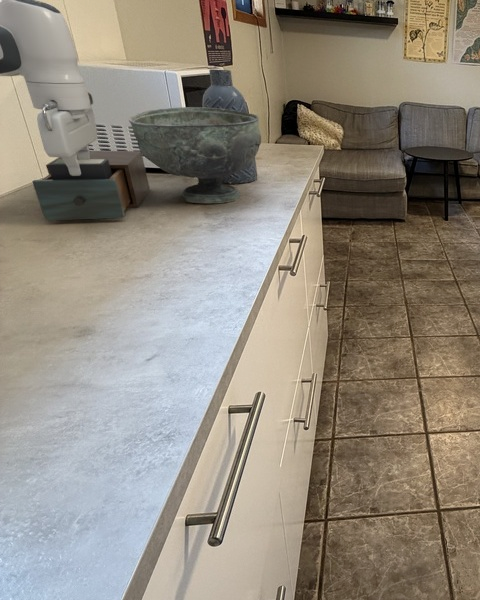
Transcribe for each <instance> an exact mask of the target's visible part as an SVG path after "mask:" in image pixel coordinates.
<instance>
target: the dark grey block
mask: <svg viewBox="0 0 480 600" xmlns="http://www.w3.org/2000/svg"><path fill="white" fill-rule="evenodd" d="M54 160H55V159H54ZM54 160H52V161H53V162H52V161H51V162H52V163H50V162H49V163H50V164H49V163H48V164H49V165H48V167H49V170H50V173H51V176H52V180H64V179H109V178H110V177H111V176H112V172H111V168H110V165H109V161H108V160H105V159H79V160H78V159H77V161H78V163H79V165H81V168H82V172H83V173H82V174H81V175H79V176H72V175H70V173H69V170H68V167H67V165H66V164H65V162H64V161H63V160H55V161H54Z"/></svg>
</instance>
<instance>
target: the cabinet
mask: <svg viewBox="0 0 480 600" xmlns="http://www.w3.org/2000/svg"><path fill="white" fill-rule="evenodd" d="M76 155H77V152H76ZM77 159H78V155H77ZM90 159H105V160H108V161H109V165H110V168H111V169H119V168H125V173H126V177H127V181H128V185H129V189H130V193H131V197H132V201H131V202H130V203H129V205H128V206H127V207H126V209H136V208H137V209H138V208H139V207H140V206H141V204H142V202H143V201H144V200H145V198H146V197H147V195H148V193H149V192H150V190H151V188H150V184H149V179H148V175H147V171H146V170H147V169H146V165H145V162H144V156H143V155H142V153H141V151H140V150H90ZM55 160H63V159H62V157H56V159H54V160H52V161H50V162H48V163H47V164H46V165H45V167H46V169H47V172H48V175H49V174H51V173H50V170H49V167H48V165H49V164H50V163H52V162H53V161H55Z"/></svg>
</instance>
